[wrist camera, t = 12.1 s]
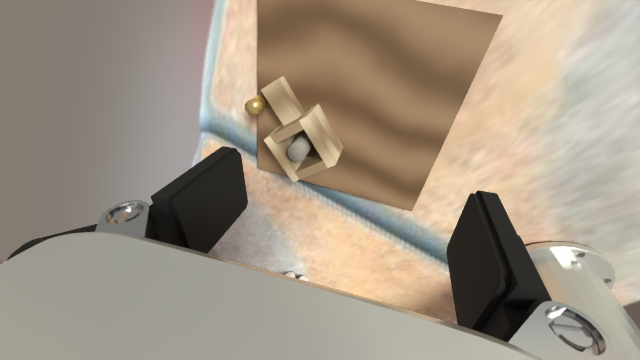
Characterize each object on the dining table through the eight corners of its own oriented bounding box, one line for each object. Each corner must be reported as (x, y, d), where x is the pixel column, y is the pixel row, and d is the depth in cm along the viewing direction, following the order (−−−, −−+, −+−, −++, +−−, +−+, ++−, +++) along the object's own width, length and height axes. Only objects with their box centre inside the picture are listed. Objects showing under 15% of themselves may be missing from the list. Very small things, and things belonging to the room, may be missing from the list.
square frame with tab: (343, 147, 32) (335, 164, 28) (304, 164, 35) (292, 182, 31) (297, 66, 28) (281, 74, 25) (258, 92, 31) (238, 103, 27)
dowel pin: (271, 107, 32) (258, 116, 29) (259, 104, 32) (245, 113, 29) (271, 94, 31) (258, 102, 28) (259, 91, 31) (244, 99, 28)
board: (411, 205, 35) (412, 238, 30) (261, 163, 38) (239, 187, 33) (498, 15, 23) (526, 16, 18) (263, -25, 26) (229, -33, 21)
